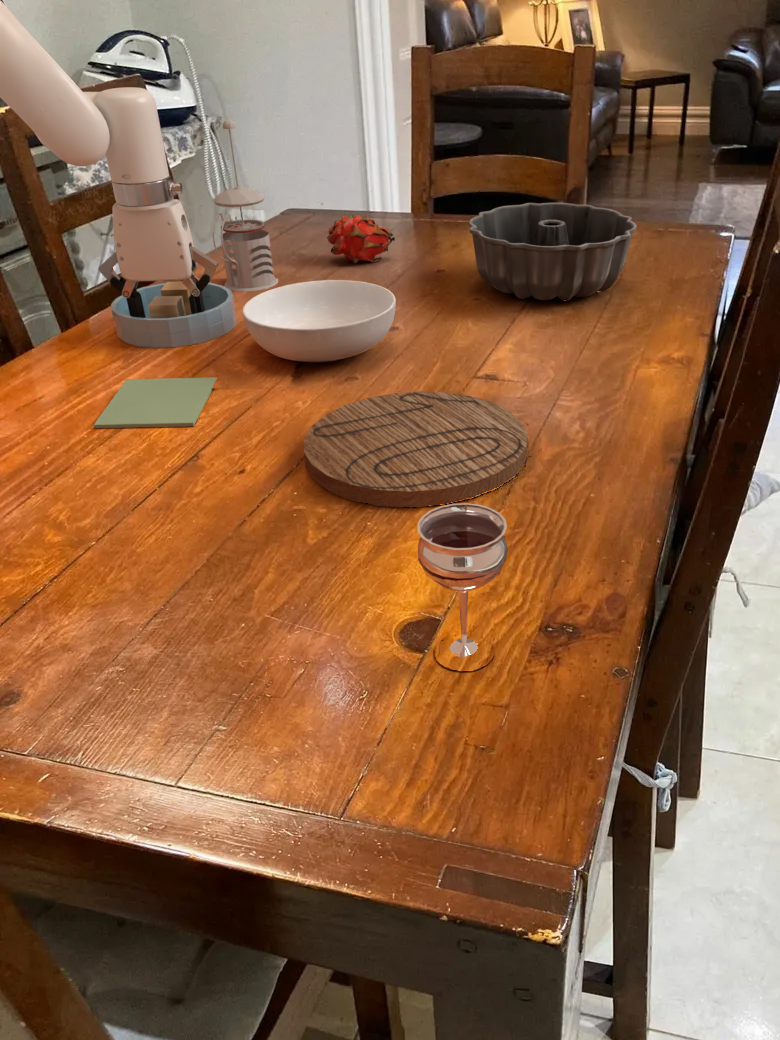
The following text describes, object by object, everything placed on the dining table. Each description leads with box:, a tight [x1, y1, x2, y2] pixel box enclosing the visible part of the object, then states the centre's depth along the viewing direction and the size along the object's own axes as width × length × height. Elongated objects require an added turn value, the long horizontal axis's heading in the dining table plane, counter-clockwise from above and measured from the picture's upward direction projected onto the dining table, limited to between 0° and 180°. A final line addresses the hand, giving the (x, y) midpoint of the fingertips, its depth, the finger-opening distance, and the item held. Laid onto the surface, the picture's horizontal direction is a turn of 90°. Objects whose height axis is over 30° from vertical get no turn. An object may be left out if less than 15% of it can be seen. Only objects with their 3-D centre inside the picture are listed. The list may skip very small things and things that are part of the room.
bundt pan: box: [468, 202, 638, 302], centre depth 150 cm, size 26×26×10 cm
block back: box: [160, 281, 192, 316], centre depth 141 cm, size 4×4×5 cm
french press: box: [212, 119, 279, 292], centre depth 149 cm, size 10×12×25 cm
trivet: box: [303, 391, 529, 509], centre depth 105 cm, size 25×25×2 cm
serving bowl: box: [241, 279, 397, 363], centre depth 129 cm, size 21×21×7 cm
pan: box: [110, 282, 238, 349], centre depth 138 cm, size 17×17×4 cm
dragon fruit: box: [326, 214, 396, 264], centre depth 165 cm, size 8×8×12 cm
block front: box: [148, 296, 186, 318], centre depth 135 cm, size 4×4×5 cm
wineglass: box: [416, 502, 508, 658], centre depth 72 cm, size 7×7×12 cm
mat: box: [93, 376, 218, 429], centre depth 118 cm, size 12×14×1 cm
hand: (169, 321), depth 135 cm, fingers open, 7 cm apart
